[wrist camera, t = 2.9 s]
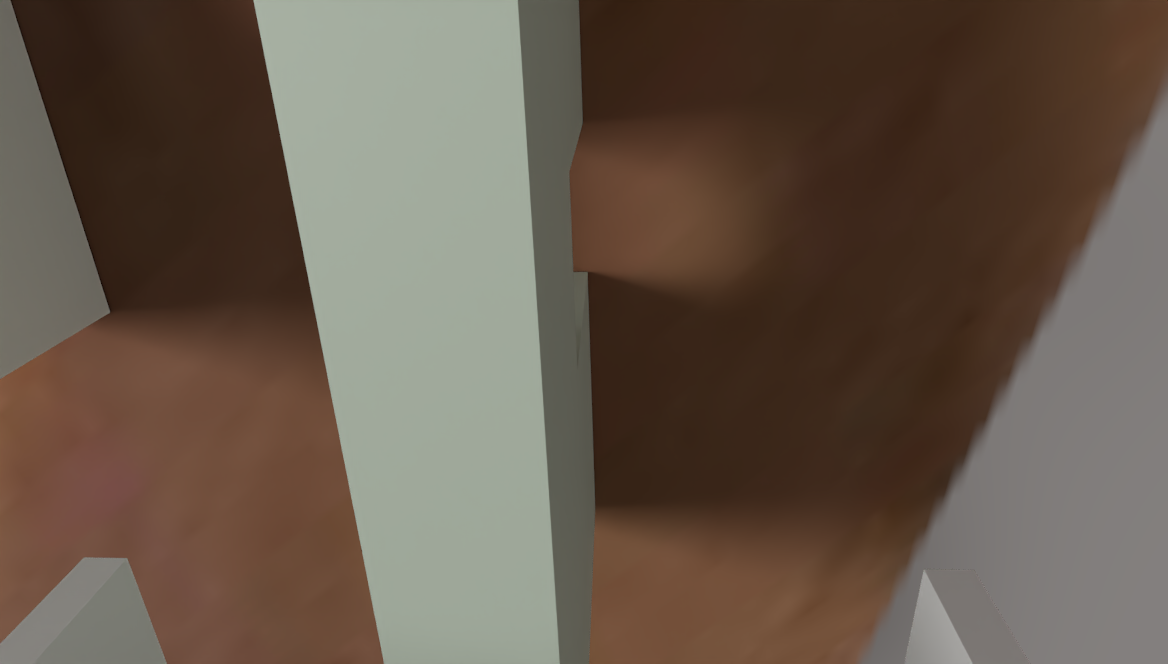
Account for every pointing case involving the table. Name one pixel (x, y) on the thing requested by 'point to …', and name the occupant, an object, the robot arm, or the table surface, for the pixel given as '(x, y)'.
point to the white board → (37, 221)
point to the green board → (449, 309)
